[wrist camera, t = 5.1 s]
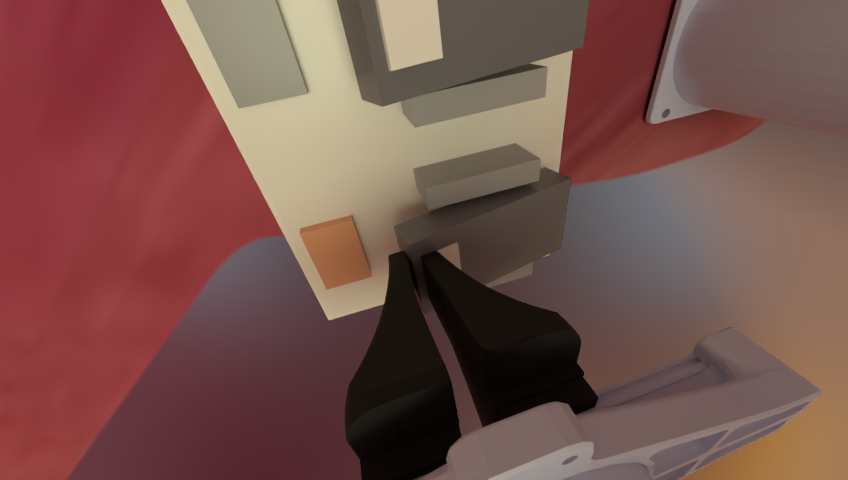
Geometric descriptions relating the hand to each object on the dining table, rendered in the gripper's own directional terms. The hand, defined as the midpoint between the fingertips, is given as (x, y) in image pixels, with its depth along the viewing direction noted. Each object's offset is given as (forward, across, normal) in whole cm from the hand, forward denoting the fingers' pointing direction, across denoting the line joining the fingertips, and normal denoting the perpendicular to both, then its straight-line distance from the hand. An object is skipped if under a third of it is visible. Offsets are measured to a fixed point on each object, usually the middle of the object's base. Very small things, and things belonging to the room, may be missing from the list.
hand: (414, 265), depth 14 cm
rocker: (0, -4, 0) cm, 4 cm away
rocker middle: (0, -4, -9) cm, 10 cm away
